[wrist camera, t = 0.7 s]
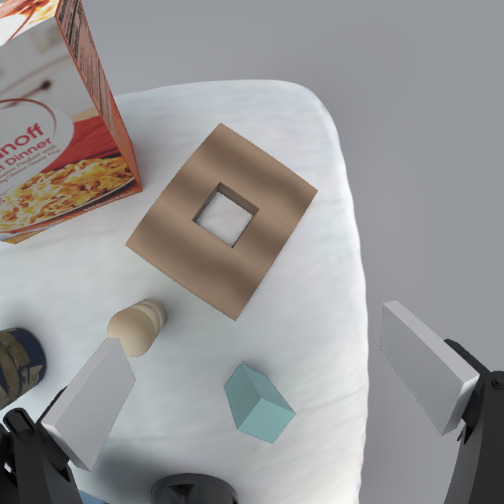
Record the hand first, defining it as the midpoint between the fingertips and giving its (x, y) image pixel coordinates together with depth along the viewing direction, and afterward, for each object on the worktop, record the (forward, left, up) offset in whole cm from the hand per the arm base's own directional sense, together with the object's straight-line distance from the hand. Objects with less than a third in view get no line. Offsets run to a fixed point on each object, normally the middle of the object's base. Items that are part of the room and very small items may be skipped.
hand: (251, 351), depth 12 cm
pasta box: (0, +27, -25) cm, 36 cm away
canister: (-25, +20, -25) cm, 41 cm away
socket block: (+10, +5, -24) cm, 27 cm away
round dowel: (-6, +6, -24) cm, 26 cm away
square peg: (-7, -10, -24) cm, 27 cm away
